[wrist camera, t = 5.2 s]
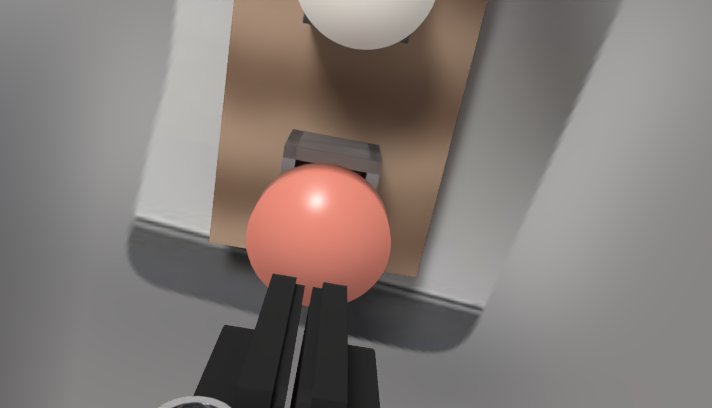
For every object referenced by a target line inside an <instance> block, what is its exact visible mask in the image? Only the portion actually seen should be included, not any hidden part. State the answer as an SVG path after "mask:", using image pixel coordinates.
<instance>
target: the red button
mask: <svg viewBox="0 0 712 408" xmlns="http://www.w3.org/2000/svg"><path fill="white" fill-rule="evenodd" d="M246 249H247V253H248V258H249V260H250V263H251V265H252V267H253V269H254V271H255V273H256V274H257V276H258V277H259V278H260V280H261V281H262V282H263V283H264V284H265V285H266V286H267V287H269V283H270V280H271V277H272V274H273V273H274V274H279V275H285V276H291V277H297V280H296V284H300V285H305V289H304V295H303V301H302V305H303V306H309V304H310V298H311V293H312V288H313V287H317V288H322V285H323V282H326V283H332V284H338V285H344V286H347V302H350V301H352V300H354V299H356V298H358V297H360V296H361V295H363V294H364V293H365V292H367V291H368V290H369V289H370V288H371V287H372V286H373V285H374V284H375V283H376V282H377V281H378V280H379V278H380V277H381V275H382V273H383V272H384V270H385V267H386V265H387V263H388V259H389V256H390V250H391V236H390V229H389V223H388V216H387V212H386V209H385V206H384V204H383V201H382V199H381V197H380V196H379V194H378V193H377V191H376V190H375V189H374V188H373V186H372V185H371V184H370V183H369V182H368V181H367V180H366V179H364V178H363V177H361V176H360V175H359V174H357V173H355V172H353V171H351V170H349V169H347V168H344V167H342V166H338V165H334V164H326V163H312V164H305V165H301V166H298V167H295V168H292V169H290V170H288V171H286V172H284V173H282V174H281V175H279V176H278V177H277V178H275V179H274V180H273V181H272V182H271V183H270V184H269V185H268V186H267V187H266V189H265V190H264V192H263V193H262V195H261V197H260V198H259V200H258V202H257V204H256V206H255V208H254V210H253V212H252V214H251V216H250V219H249V222H248V226H247V231H246Z"/></svg>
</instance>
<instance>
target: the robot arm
mask: <svg viewBox="0 0 712 408" xmlns="http://www.w3.org/2000/svg"><path fill="white" fill-rule="evenodd" d="M296 280H297V277H291V276H285V275H279V274H274V273H273V274H272V277H271V280H270V283H269V287H268V290H267V293H266V296H265V299H264V302H263V305H262V309H261V312H260V315H259V318H258V322H257V325H256V328H255V330H254V329H247V328H241V327H235V326H229V325H224V327H223V329H222V331H221V333H220V335H219V338H218V340H217V342H216V345H215V347H214V349H213V352H212V354H211V356H210V359H209V361H208V363H207V366H206V368H205V370H204V372H203V375H202V377H201V380H200V382H199V384H198V386H197V389H196V391H195V393H194V396H190V397H182V398H179V399H175V400H171V401H169V402H167V403H165V404H163V405H162V406H160V407H158V408H284V406H285V401H286V395H287V390H288V384H289V378H290V372H291V366H292V360H293V354H294V348H295V342H296V336H297V331H298V325H299V319H300V313H301V307H302V301H303V295H304V289H305V285H300V284H296ZM347 340H348V337H347V286H344V285H338V284H332V283H326V282H323V285H322V288H317V287H313V288H312V293H311V298H310V304H309V309H308V314H307V319H306V325H305V330H304V335H303V341H302V346H301V351H300V356H299V362H298V367H297V373H296V377H295V383H294V388H293V394H292V399H291V405H290V408H380V402H379V391H378V380H377V370H376V358H375V351H374V349H371V348H365V347H358V346H352V345H348V344H347V343H348V342H347Z"/></svg>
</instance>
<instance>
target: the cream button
mask: <svg viewBox="0 0 712 408" xmlns="http://www.w3.org/2000/svg"><path fill="white" fill-rule="evenodd" d="M434 2H435V0H299V3H300V5H301V7H302V9H303V11H304V13H305V14H306V16H307V18H308V19H309V20H310V22H311V23H312V24H313V25H314V26H315V27H316V28H317V29H318V30H319V31H320V32H321V33H322V34H323V35H325V36H326V37H327V38H329V39H331V40H332V41H334V42H336V43H338V44H340V45H343V46H346V47H349V48H353V49H361V50H373V49H380V48H384V47H387V46H390V45H393V44H395V43H397V42H399V41H401V40H403V39H404V38H406V37H407V36H409V35H410V34H411V33H412V32H414V31H415V30H416V29H417V28H418V27H419V26H420V25H421V24H422V22H423V21H424V20H425V18H426V17H427V16H428V14H429V12H430V10H431V9H432V7H433V4H434Z"/></svg>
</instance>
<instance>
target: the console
mask: <svg viewBox="0 0 712 408" xmlns="http://www.w3.org/2000/svg"><path fill="white" fill-rule="evenodd" d="M487 1H488V0H435V2H434V4H433V7H432V9H431V10H430V12H429V14H428V16H427V17H426V18H425V20H424V21H423V22H422V24H421V25H420V26H419V27H418V28H417V29H416V30H415V31H414V32H412V33H411V34H410V35H409V36H407V37H406V38H404V39H403V40H401V41H399V42H397V43H395V44H393V45H390V46H387V47H384V48H380V49H373V50H361V49H353V48H349V47H346V46H343V45H340V44H338V43H336V42H334V41H332V40H331V39H329V38H327V37H326V36H325V35H323V34H322V33H321V32H320V31H319V30H318V29H317V28H316V27H315V26H314V25H313V24H312V23H311V22H310V20H309V19H308V18H307V16H306V14H305V13H304V11H303V9H302V7H301V5H300V3H299V0H234V6H233V16H232V26H231V35H230V45H229V55H228V64H227V74H226V84H225V94H224V103H223V113H222V123H221V132H220V142H219V152H218V161H217V171H216V181H215V190H214V200H213V210H212V220H211V229H210V239H209V242H211V243H216V244H222V245H228V246H234V247H240V248H246V231H247V226H248V222H249V219H250V216H251V214H252V212H253V210H254V208H255V206H256V204H257V202H258V200H259V198H260V197H261V195H262V193H263V192H264V190H265V189H266V187H267V186H268V185H269V184H270V183H271V182H272V181H273V180H274V179H275V178H277V177H278V176H279V175H281V174H282V173H284V172H286V171H288V170H290V169H292V168H295V167H298V166H301V165H305V164H312V163H326V164H334V165H338V166H342V167H344V168H347V169H349V170H351V171H353V172H355V173H357V174H359V175H360V176H361V177H363V178H364V179H366V180H367V181H368V182H369V183H370V184H371V185H372V186H373V188H374V189H375V190H376V191H377V193H378V194H379V196H380V197H381V199H382V201H383V204H384V206H385V209H386V212H387V216H388V223H389V229H390V236H391V250H390V256H389V259H388V263H387V265H386V267H385V270H384V272H387V273H393V274H399V275H405V276H411V277H416V276H417V272H418V268H419V264H420V260H421V256H422V253H423V249H424V245H425V241H426V237H427V233H428V229H429V225H430V222H431V218H432V214H433V210H434V206H435V202H436V198H437V194H438V191H439V187H440V183H441V179H442V175H443V171H444V167H445V163H446V160H447V156H448V152H449V148H450V144H451V140H452V136H453V132H454V129H455V125H456V121H457V117H458V113H459V109H460V105H461V101H462V98H463V94H464V90H465V86H466V82H467V78H468V74H469V70H470V67H471V63H472V59H473V55H474V51H475V47H476V43H477V39H478V36H479V32H480V28H481V24H482V20H483V16H484V12H485V9H486V5H487Z"/></svg>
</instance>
